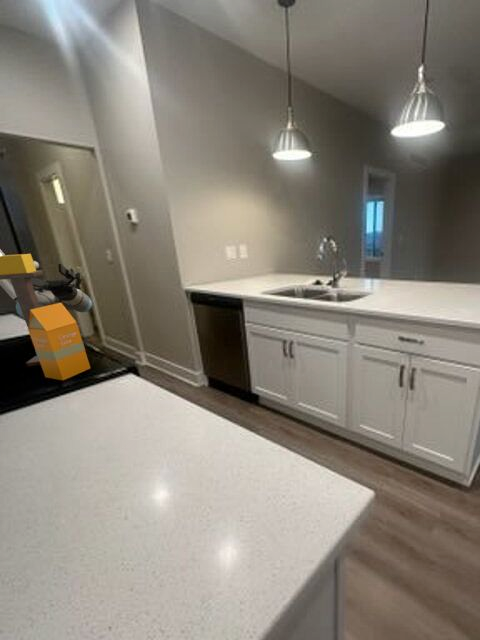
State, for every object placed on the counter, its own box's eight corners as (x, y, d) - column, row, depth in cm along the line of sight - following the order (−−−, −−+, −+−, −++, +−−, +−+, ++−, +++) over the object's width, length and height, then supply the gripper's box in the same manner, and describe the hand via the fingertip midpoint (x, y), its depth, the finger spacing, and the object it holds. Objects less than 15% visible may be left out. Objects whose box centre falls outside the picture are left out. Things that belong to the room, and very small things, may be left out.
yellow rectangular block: (-1, 275, 98) (-8, 257, 96) (23, 269, 111) (18, 253, 109) (27, 273, 99) (20, 255, 97) (48, 267, 112) (43, 251, 110)
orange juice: (44, 377, 99) (19, 309, 91) (73, 365, 106) (52, 301, 99) (63, 380, 96) (39, 310, 88) (91, 368, 103) (71, 302, 96)
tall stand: (27, 366, 108) (-8, 275, 97) (36, 359, 114) (4, 273, 103) (62, 362, 110) (32, 272, 99) (69, 355, 116) (42, 270, 105)
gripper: (29, 285, 130) (-9, 261, 109) (101, 280, 135) (77, 255, 115) (30, 304, 129) (-8, 283, 108) (103, 298, 134) (79, 277, 114)
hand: (36, 269), depth 111 cm, fingers open, 13 cm apart
